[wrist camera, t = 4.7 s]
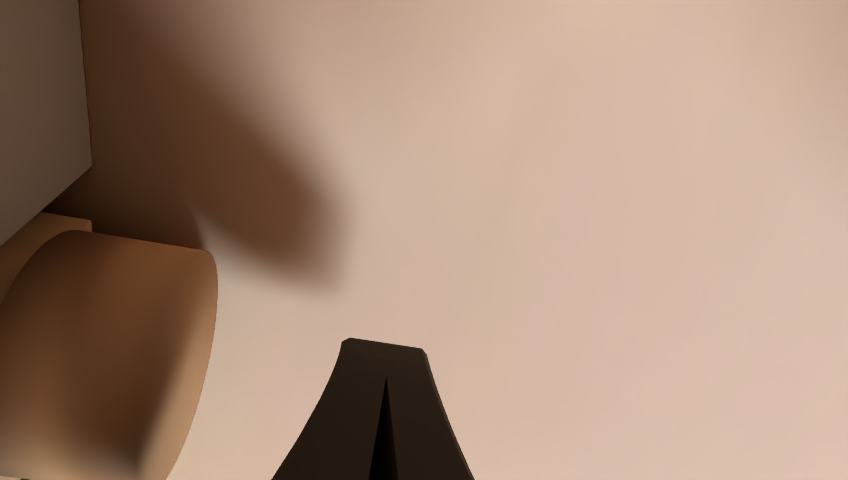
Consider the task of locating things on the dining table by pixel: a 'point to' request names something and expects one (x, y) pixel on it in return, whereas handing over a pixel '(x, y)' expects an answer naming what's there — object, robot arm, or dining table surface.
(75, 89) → the box
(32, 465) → the walnut knob
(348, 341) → the robot arm
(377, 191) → the dining table surface
